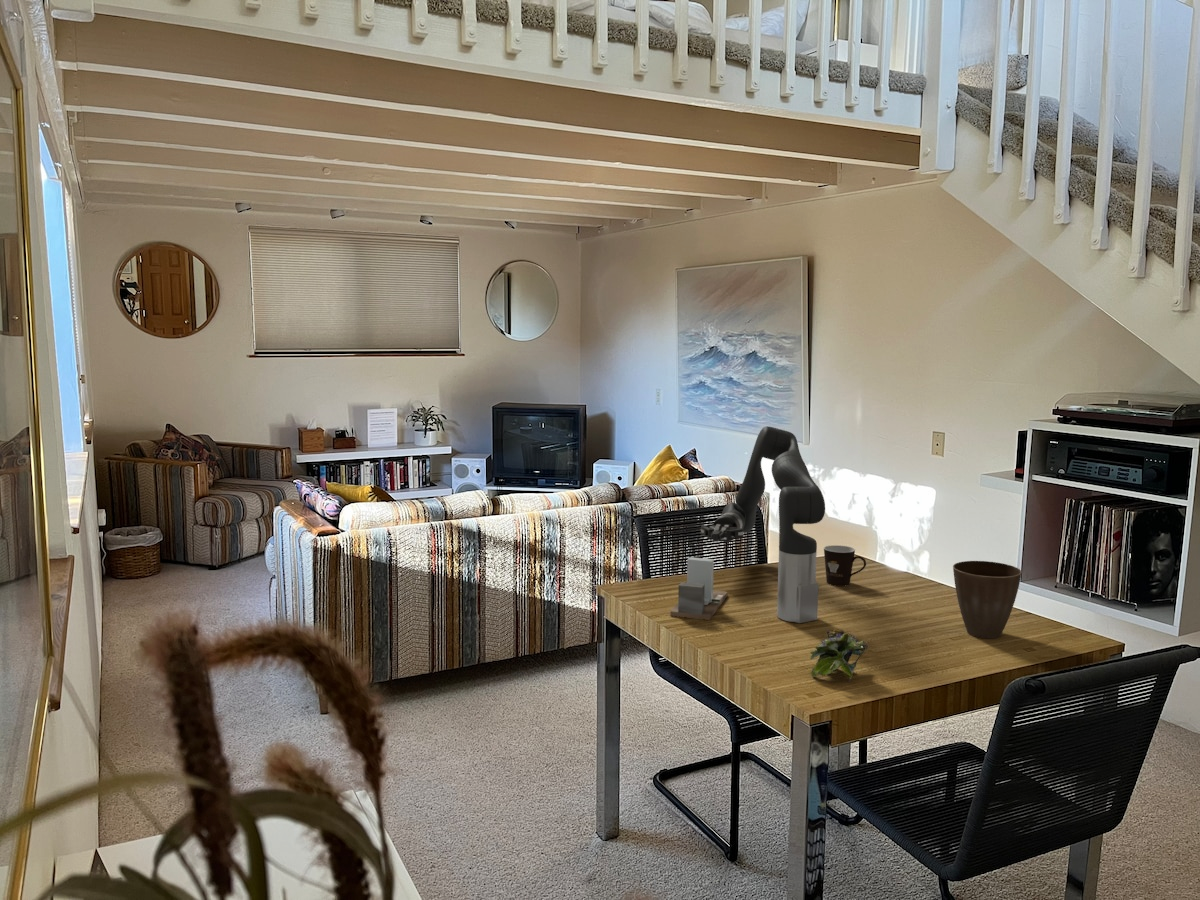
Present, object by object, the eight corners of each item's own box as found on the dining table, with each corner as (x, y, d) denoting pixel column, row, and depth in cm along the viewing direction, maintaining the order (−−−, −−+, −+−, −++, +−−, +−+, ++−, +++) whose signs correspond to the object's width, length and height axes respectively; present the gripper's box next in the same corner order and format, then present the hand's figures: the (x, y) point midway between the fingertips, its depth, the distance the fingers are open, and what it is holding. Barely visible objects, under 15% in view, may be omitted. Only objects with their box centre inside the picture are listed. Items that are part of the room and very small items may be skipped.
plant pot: (977, 646, 209) (980, 578, 206) (936, 626, 223) (939, 562, 221) (1031, 641, 212) (1036, 574, 210) (988, 621, 227) (992, 558, 225)
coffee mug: (816, 580, 263) (817, 547, 262) (840, 577, 267) (841, 544, 265) (843, 591, 253) (844, 556, 251) (867, 587, 256) (868, 552, 255)
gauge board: (691, 592, 251) (691, 563, 250) (727, 596, 248) (727, 566, 247) (670, 616, 231) (670, 584, 230) (709, 620, 227) (709, 588, 226)
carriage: (689, 597, 241) (689, 556, 240) (721, 600, 239) (721, 559, 237) (681, 606, 234) (682, 564, 232) (714, 609, 231) (715, 567, 230)
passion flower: (832, 693, 196) (856, 643, 198) (862, 703, 186) (887, 650, 188) (792, 667, 193) (817, 617, 196) (820, 676, 183) (846, 623, 186)
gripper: (706, 512, 272) (692, 522, 256) (750, 515, 268) (739, 525, 251) (705, 537, 273) (692, 549, 256) (750, 540, 268) (738, 552, 252)
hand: (715, 537), depth 254 cm, fingers closed
